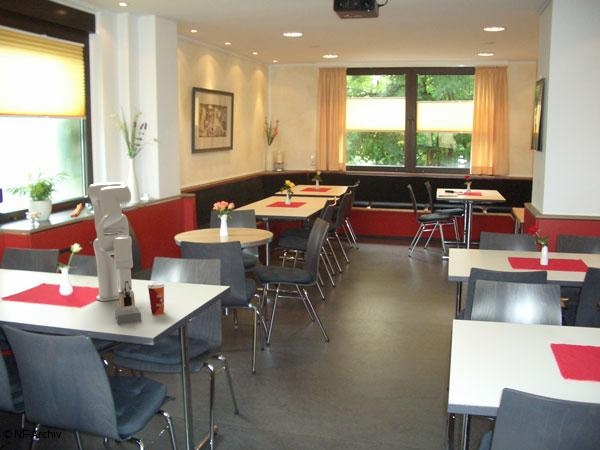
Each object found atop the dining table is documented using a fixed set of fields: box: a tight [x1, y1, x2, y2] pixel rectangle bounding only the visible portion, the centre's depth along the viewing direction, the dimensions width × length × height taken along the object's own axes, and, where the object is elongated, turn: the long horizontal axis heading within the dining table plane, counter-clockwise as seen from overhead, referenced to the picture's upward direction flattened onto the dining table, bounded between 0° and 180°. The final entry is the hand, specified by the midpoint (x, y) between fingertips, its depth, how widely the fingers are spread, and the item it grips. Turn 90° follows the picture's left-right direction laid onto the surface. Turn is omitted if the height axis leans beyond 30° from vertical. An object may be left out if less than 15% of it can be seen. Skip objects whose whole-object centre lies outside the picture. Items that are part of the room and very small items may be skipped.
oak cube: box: [118, 289, 136, 309], centre depth 282 cm, size 6×6×6 cm
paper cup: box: [147, 281, 165, 316], centre depth 291 cm, size 8×8×14 cm
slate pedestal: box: [114, 306, 142, 325], centre depth 283 cm, size 10×10×4 cm
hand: (126, 303), depth 282 cm, fingers closed on oak cube, 6 cm apart
